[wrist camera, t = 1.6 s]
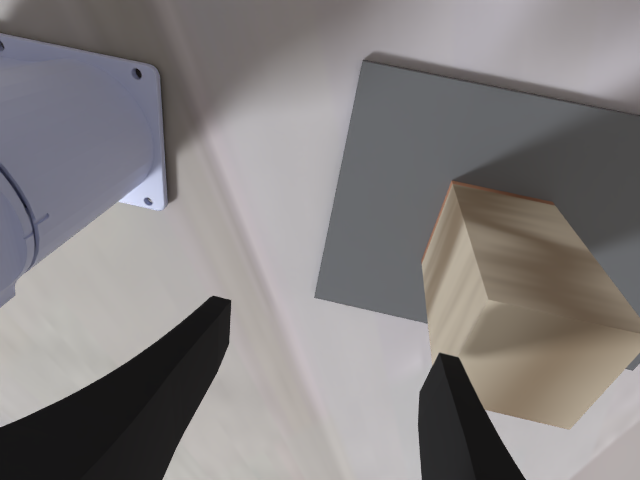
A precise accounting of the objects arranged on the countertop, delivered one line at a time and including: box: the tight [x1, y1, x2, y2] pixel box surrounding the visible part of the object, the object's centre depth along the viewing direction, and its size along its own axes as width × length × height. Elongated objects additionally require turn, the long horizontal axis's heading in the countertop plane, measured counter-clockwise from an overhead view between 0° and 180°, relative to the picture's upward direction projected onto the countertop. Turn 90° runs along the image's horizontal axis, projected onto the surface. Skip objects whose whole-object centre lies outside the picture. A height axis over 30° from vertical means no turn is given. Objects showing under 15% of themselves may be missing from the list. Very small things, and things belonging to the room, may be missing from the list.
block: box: [421, 181, 640, 430], centre depth 17 cm, size 5×5×9 cm
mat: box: [314, 60, 640, 370], centre depth 21 cm, size 20×14×1 cm
